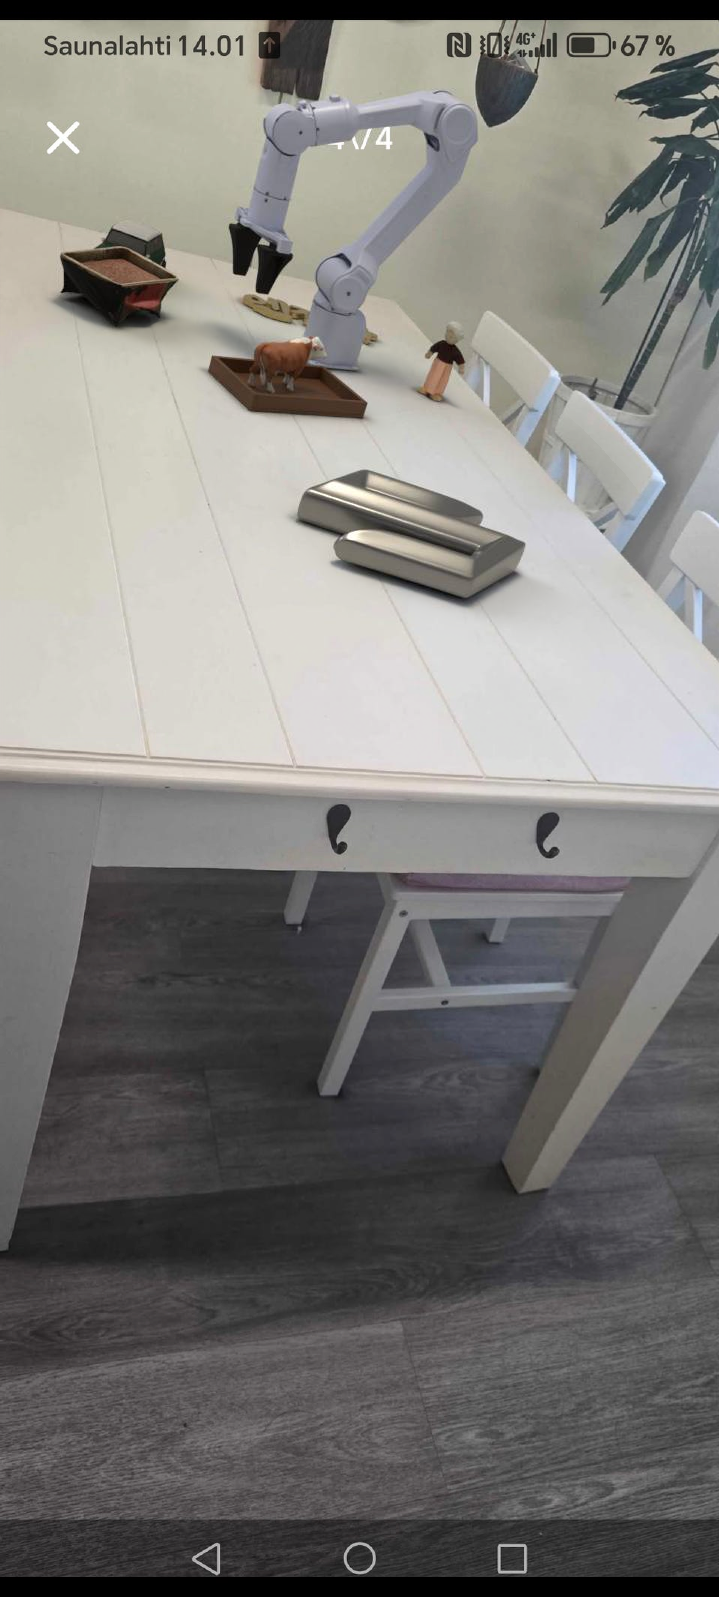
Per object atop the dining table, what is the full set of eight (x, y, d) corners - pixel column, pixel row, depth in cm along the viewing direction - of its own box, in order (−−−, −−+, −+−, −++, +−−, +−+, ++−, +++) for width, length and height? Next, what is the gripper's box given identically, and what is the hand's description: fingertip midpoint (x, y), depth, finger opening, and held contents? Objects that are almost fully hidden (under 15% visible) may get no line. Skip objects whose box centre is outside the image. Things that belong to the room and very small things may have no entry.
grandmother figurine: (408, 389, 206) (433, 314, 198) (416, 385, 209) (440, 311, 201) (449, 407, 204) (475, 333, 197) (456, 403, 207) (482, 329, 200)
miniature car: (82, 276, 201) (90, 225, 196) (119, 256, 216) (127, 209, 211) (133, 295, 201) (142, 245, 197) (166, 274, 216) (176, 227, 211)
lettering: (244, 311, 212) (246, 306, 211) (240, 293, 220) (241, 288, 219) (380, 347, 219) (381, 342, 219) (371, 328, 227) (372, 323, 227)
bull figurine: (320, 394, 189) (335, 342, 184) (254, 394, 180) (268, 340, 175) (303, 381, 191) (317, 330, 186) (236, 381, 182) (250, 327, 177)
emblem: (457, 464, 168) (567, 568, 150) (444, 499, 171) (551, 606, 153) (277, 446, 153) (375, 559, 136) (266, 485, 156) (361, 600, 139)
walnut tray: (319, 380, 195) (323, 365, 194) (363, 417, 188) (367, 402, 186) (207, 371, 183) (211, 354, 182) (250, 410, 176) (254, 393, 174)
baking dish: (176, 336, 198) (191, 272, 193) (105, 327, 183) (120, 258, 178) (108, 307, 202) (121, 244, 198) (33, 296, 187) (46, 228, 183)
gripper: (227, 172, 187) (207, 263, 195) (272, 205, 179) (250, 298, 186) (266, 180, 191) (245, 268, 199) (312, 212, 183) (289, 303, 190)
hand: (250, 283), depth 193 cm, fingers open, 7 cm apart
